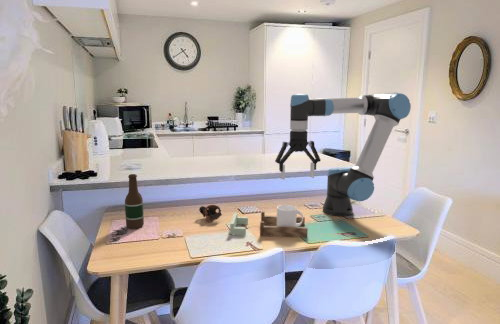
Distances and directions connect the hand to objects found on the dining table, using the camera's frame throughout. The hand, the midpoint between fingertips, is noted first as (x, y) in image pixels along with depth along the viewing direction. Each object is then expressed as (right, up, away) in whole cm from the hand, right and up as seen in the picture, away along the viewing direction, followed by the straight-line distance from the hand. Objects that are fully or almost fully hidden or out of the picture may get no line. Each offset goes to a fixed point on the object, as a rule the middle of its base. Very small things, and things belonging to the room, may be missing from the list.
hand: (297, 178), depth 159 cm
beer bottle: (-73, -22, +3) cm, 77 cm away
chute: (-7, -23, 0) cm, 24 cm away
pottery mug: (-40, -21, +13) cm, 47 cm away
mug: (-4, -24, 0) cm, 24 cm away
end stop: (-26, -23, +1) cm, 35 cm away
